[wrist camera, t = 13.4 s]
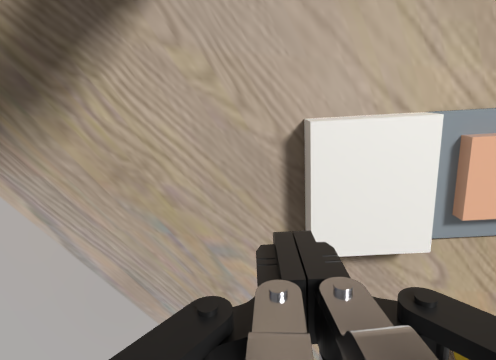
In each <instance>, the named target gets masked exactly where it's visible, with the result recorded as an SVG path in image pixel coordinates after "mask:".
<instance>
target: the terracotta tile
mask: <svg viewBox="0 0 496 360" xmlns="http://www.w3.org/2000/svg"><path fill="white" fill-rule="evenodd" d="M452 215H454V216H456V217H457V218H459V219H461V220H462V221H466V220H486V219H496V133H488V134H470V135H461V143H460V152H459V161H458V170H457V178H456V187H455V196H454V205H453V214H452Z"/></svg>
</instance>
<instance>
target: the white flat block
mask: <svg viewBox="0 0 496 360" xmlns="http://www.w3.org/2000/svg"><path fill="white" fill-rule="evenodd" d="M443 117H444V114H437V113H428V112H417V113H399V114H382V115H364V116H346V117H328V118H310V119H304V139H305V231H309V230H311V232H312V234H313V236H314V238H315V241H316V242H326V243H328V244H329V245H331V246H332V247H334V249H335V251H336V252H337V254H338V256H339V257H342V256H363V255H383V254H404V253H425V252H430V250H431V239H432V229H433V219H434V209H435V199H436V189H437V178H438V168H439V158H440V148H441V138H442V128H443Z"/></svg>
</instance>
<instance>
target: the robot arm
mask: <svg viewBox="0 0 496 360" xmlns="http://www.w3.org/2000/svg"><path fill="white" fill-rule="evenodd" d="M256 261H257V283H258V288H257V289H256V293H255V297H254V298H253V299H251V300H250V301H248V302H247V303H245V304H242V305H239V306H235V307H232V305H231V303H230V302H229V301H228V300H226V299H225V298H222V297H218V296H208V297H202V298H199V299H197V300H195V301H193V302H191V303H190V304H188V305H187V306H186V307H184V308H183V309H181V310H180V311H178V312H177V313H176V314H174V315H173V316H171V317H170V318H168V319H167V320H165V321H164V322H163V323H161V324H160V325H158V326H157V327H155V328H154V329H153V330H151V331H150V332H148V333H147V334H145V335H144V336H142V337H141V338H139V339H138V340H137V341H135V342H134V343H132V344H131V345H129V346H128V347H126V348H125V349H124V350H122V351H121V352H119V353H118V354H116V355H115V356H114V357H112V358H111V359H109V360H314V359H313V352H312V345H311V344H318V346H319V360H448V358H449V350H452V351H454V352H456V353H458V354H460V355H461V356H463V357H465V358H467V359H469V360H496V316H494V315H492V314H489V313H487V312H484V311H482V310H480V309H477V308H475V307H472V306H470V305H467V304H465V303H463V302H460V301H458V300H455V299H453V298H450V297H448V296H446V295H443V294H441V293H438V292H436V291H433V290H430V289H426V288H419V287H411V288H406V289H403V290H402V291H400V292H399V294H398V301H394V300H387V299H381V298H376V297H373V296H371V294H370V293H369V292H368V290H367V289H366V287H365V286H364V285H363V284H361V283H360V282H358V281H356V280H354V279H351V278H350V276H349V274H348V272H347V271H346V269H345V267H344V265H343V263H342V262H341V260H340V258H339V256H338V254H337V252H336V251H335V249H334V247H332V246H331V245H329V244H328V243H326V242H316V241H315V238H314V236H313V234H312V232H311V230H309V231H292V232H291V231H290V232H273V244H270V245H261V246H260V247H259V248H258V250H257V251H256Z"/></svg>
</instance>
